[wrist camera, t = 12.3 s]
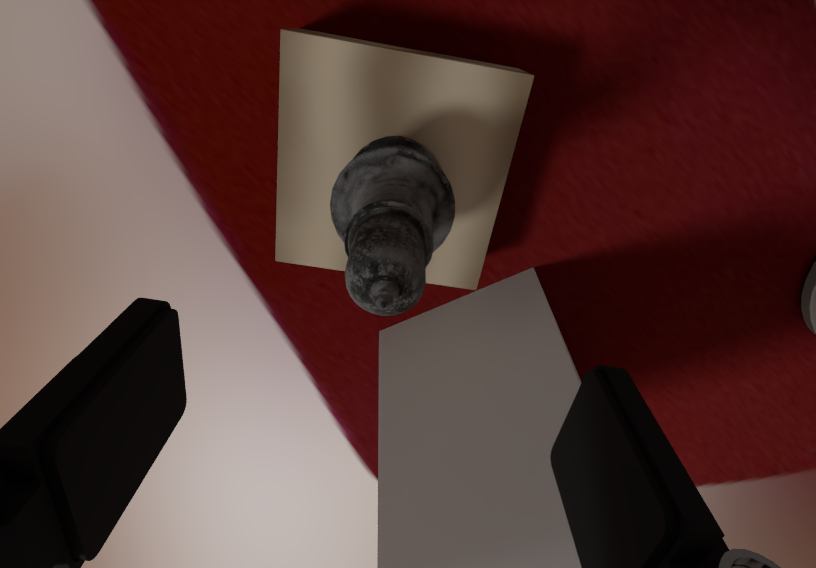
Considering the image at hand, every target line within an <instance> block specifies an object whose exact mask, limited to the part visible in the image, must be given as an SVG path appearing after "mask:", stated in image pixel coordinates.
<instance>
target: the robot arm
mask: <svg viewBox="0 0 816 568" xmlns="http://www.w3.org/2000/svg"><path fill="white" fill-rule="evenodd" d="M801 310H802V314H803V318H804V321H805V322H806V324H807V326H808V327H809V329H810V330H811V331H812V332H813V333H814V334H815V335H816V261H815V262H814V264H813V266H812V268H811V270H810V272H809V274H808V276H807V278H806V280H805V284H804V287H803V291H802V297H801ZM185 407H186V389H185V379H184V369H183V359H182V348H181V338H180V328H179V319H178V312H177V311H176V310H175V309H171V307H170V304H169V303H168V302H166V301H160V300H153V299H147V298H138V299H136V300H135V301H134V302H133V303H132V304H131V305H130V306H129V307H128V308H127V309H126V310H125V311H123V312H122V313H121V314H120V315H119V316H118V317H117V318H116V319H115V320H114V321H113V322H112V323H111V324H110V325H109V326H108V327H107V328H106V329H105V330H104V331H103V332H102V333H101V334H100V335H99V336H98V337H97V338H95V339H94V340H93V341H92V342H91V343H90V344H89V345H88V346H87V347H86V348H85V349H84V350H83V351H82V352H81V353H80V354H79V355H78V356H76V357H75V358H74V359H72V361H71V362H69V363H68V364H67V365H66V366H65V367H64V368H63V369H62V370H61V371H60V372H59V373H58V374H57V375H56V376H55V377H54V378H53V379H52V380H51V381H50V382H49V383H48V384H47V385H46V386H44V387H43V388H42V389H41V390H40V391H39V392H38V393H37V394H36V395H35V396H34V397H33V398H32V399H31V400H30V401H29V402H28V403H27V404H26V405H25V406H24V407H23V408H22V409H21V410H20V411H19V412H17V413H16V414H15V415H14V416H13V417H12V418H11V419H10V420H9V421H8V422H7V423H6V424H5V425H4V426H3V427H2V428H1V429H0V568H81V566H82V564H83V563H84V561H85V560H87V561H90V560H92V559H94V558H95V557H96V556H97V554H98V553H99V551H100V550H101V548H102V546H103V545H104V543H105V542H106V540H107V538H108V537H109V535H110V533H111V532H112V530H113V528H114V527H115V525H116V524H117V522H118V520H119V518H120V517H121V515H122V514H123V512H124V510H125V509H126V507H127V506H128V504H129V502H130V501H131V499H132V497H133V496H134V494H135V492H136V491H137V489H138V487H139V486H140V484H141V483H142V481H143V479H144V478H145V476H146V474H147V472H148V471H149V469H150V467H151V466H152V464H153V463H154V461H155V459H156V458H157V456H158V455H159V453H160V451H161V450H162V448H163V446H164V445H165V443H166V442H167V440H168V438H169V437H170V435H171V433H172V432H173V430H174V428H175V427H176V425H177V423H178V422H179V420H180V419H181V417H182V415H183V413H184V410H185ZM550 460H551V466H552V469H553V473H554V476H555V480H556V483H557V486H558V490H559V493H560V496H561V500H562V503H563V507H564V510H565V513H566V517H567V520H568V523H569V527H570V530H571V534H572V537H573V540H574V544H575V547H576V551H577V554H578V557H579V561H580V564H581V567H582V568H781V567H779V566H778V565H777V564H775V563H774V562H773V561H771V560H769V559H767V558H765V557H764V556H762V555H760V554H758V553H755V552H752V551H749V550H745V549H732V550H729V549H728V547H727V545H726V544H725V542H724V540H723V539H722V538H723V537H724V534H723V532H722V531H721V529H720V527H719V525H718V524H717V522H716V520H715V519H714V517H713V515H712V513H711V512H710V510H709V508H708V507H707V505H706V503H705V502H704V500H703V498H702V497H701V495H700V493H699V492H698V490H697V488H696V487H695V485H694V483H693V481H692V480H691V478H690V476H689V475H688V473H687V471H686V470H685V468H684V466H683V465H682V463H681V461H680V460H679V458H678V456H677V455H676V453H675V451H674V449H673V448H672V446H671V444H670V443H669V441H668V439H667V438H666V436H665V434H664V433H663V431H662V429H661V428H660V426H659V424H658V423H657V421H656V419H655V418H654V416H653V414H652V412H651V411H650V409H649V407H648V406H647V404H646V402H645V401H644V399H643V397H642V396H641V394H640V392H639V391H638V389H637V387H636V386H635V384H634V382H633V380H632V379H631V377H630V375H629V374H628V372H627V371H626V370H625V369H623V368H617V367H610V366H603V365H598V366H596V367H595V368H594V370H589V371H587V373H586V374H585V376H584V379H583V381H582V383H581V385H580V387H579V390H578V392H577V394H576V396H575V398H574V401H573V403H572V405H571V407H570V409H569V412H568V414H567V416H566V418H565V420H564V423H563V425H562V427H561V429H560V431H559V434H558V436H557V438H556V440H555V442H554V445H553V447H552V450H551V456H550Z"/></svg>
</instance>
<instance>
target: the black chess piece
mask: <svg viewBox="0 0 816 568" xmlns="http://www.w3.org/2000/svg"><path fill="white" fill-rule="evenodd" d="M330 210H331V218H332V222H333V224H334V226H335V229H336V231H337V234H338V235H339V237H340V238H341V239H342V241H343V242H344V246H345V252H346V254H347V257H348V260H347V264H346V269H345V281H346V287H347V290H348V292H349V294H350V296H351V298H352V299H353V300H354V301H355V303H356V304H357V305H359V306H360V307H361V308H363V309H364V310H366V311H368V312H371V313H373V314H377V315H382V316H392V315H397V314H401V313H403V312H405V311H407V310H409V309H411V308H412V307H413V306H414V305H415V304H416V303H417V302H418V300H419V299H420V297H421V295H422V293H423V291H424V287H425V283H426V272H425V269H426V267H427V265H428V264H429V262H430V260H431V258H432V254H433V252H434V251H435V250H436V249H437V248H439V247H440V246H441V245H442V244H443V242H444V241H445V239H446V237H447V236H448V234H449V233H450V231H451V228H452V224H453V221H454V218H455V198H454V194H453V190H452V187H451V184H450V182H449V180H448V179H447V177H446V175H445V174H444V172H443V170H442V169H441V166H440V164H439V162H438V161H437V159H436V157H435V156H434V154H432V153H431V152H430V151H429V150H428V149H427V148H426V147H425V146H424V145H422V144H420V143H418V142H417V141H415V140H413V139H409V138H405V137H400V136H393V137H384V138H380V139H377V140H374V141H372V142H370V143H369V144H367V145H366V146H364V147H363V148H362V149H361V150H360V151H359V152H358V153H357V154H356V156H355V157H354V158H353V160H351V161H350V162H349V163H348V164H347V165H346V166H345V168H344V169H343V170H342V171H341V172H340V173H339V175H338V177H337V180H336V182H335V184H334V186H333V188H332V194H331V200H330Z"/></svg>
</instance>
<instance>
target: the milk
mask: <svg viewBox="0 0 816 568" xmlns="http://www.w3.org/2000/svg"><path fill="white" fill-rule="evenodd" d="M581 383H582V382H581V380H580V377H579V375H578V373H577V370H576V368H575V365H574V363H573V361H572V358H571V356H570V353H569V351H568V349H567V346H566V344H565V342H564V339H563V337H562V334H561V332H560V330H559V327H558V325H557V322H556V320H555V318H554V315H553V313H552V311H551V308H550V306H549V303H548V301H547V299H546V296H545V294H544V291H543V289H542V287H541V284H540V282H539V279H538V277H537V275H536V272H535V270H534V268H530V269H528V270H526V271H523V272H521V273H518V274H516V275H514V276H511V277H509V278H506V279H504V280H502V281H499V282H497V283H494V284H492V285H490V286H487V287H485V288H482V289H480V290H478V291H475V292H473V293H470V294H468V295H466V296H463V297H461V298H458V299H456V300H454V301H451V302H449V303H446V304H444V305H442V306H439V307H437V308H434V309H432V310H430V311H427V312H425V313H422V314H420V315H418V316H415V317H413V318H410V319H408V320H405V321H403V322H401V323H398V324H396V325H393V326H391V327H389V328H386V329H384V330H381V331H379V440H378V568H582V567H581V564H580V561H579V557H578V554H577V551H576V547H575V544H574V540H573V537H572V534H571V530H570V527H569V523H568V520H567V517H566V513H565V510H564V507H563V503H562V500H561V496H560V493H559V490H558V486H557V483H556V480H555V476H554V473H553V469H552V466H551V460H550V456H551V450H552V447H553V445H554V442H555V440H556V438H557V436H558V434H559V431H560V429H561V427H562V425H563V423H564V420H565V418H566V416H567V414H568V412H569V409H570V407H571V405H572V403H573V401H574V398H575V396H576V394H577V392H578V390H579V387H580V385H581Z"/></svg>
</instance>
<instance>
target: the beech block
mask: <svg viewBox="0 0 816 568" xmlns="http://www.w3.org/2000/svg"><path fill="white" fill-rule="evenodd" d="M533 79H534V75H532V74H530V73H528V72H525V71H523V70H521V69H518V68H514V67H508V66H503V65H497V64H492V63H486V62H481V61H476V60H470V59H465V58H459V57H454V56H448V55H443V54H437V53H432V52H426V51H421V50H415V49H410V48H404V47H399V46H393V45H388V44H382V43H377V42H371V41H366V40H360V39H355V38H349V37H344V36H338V35H333V34H327V33H322V32H316V31H311V30H305V29H300V28H297V29H281V39H280V83H279V126H278V170H277V214H276V258H275V261H279V262H286V263H293V264H300V265H307V266H314V267H320V268H327V269H334V270H341V271H345V269H346V264H347V260H348V257H347V254H346V252H345V246H344V242H343V241H342V239H341V238H340V237H339V235H338V234H337V231H336V229H335V226H334V224H333V222H332V218H331V210H330V200H331V194H332V188H333V186H334V184H335V182H336V180H337V177H338V175H339V173H340V172H341V171H342V170H343V169H344V168H345V166H346V165H347V164H348V163H349V162H350V161H351V160H353V158H354V157H355V156H356V154H357V153H358V152H359V151H360V150H361V149H362V148H363V147H364V146H366V145H367V144H369V143H370V142H372V141H374V140H377V139H380V138H384V137H393V136H400V137H405V138H409V139H413V140H415V141H417V142H418V143H420V144H422V145H424V146H425V147H426V148H427V149H428V150H429V151H430V152H431V153H432V154H434V156H435V157H436V159H437V161H438V162H439V164H440V166H441V169H442V170H443V172H444V174H445V175H446V177H447V179H448V180H449V182H450V184H451V187H452V190H453V194H454V198H455V218H454V221H453V224H452V228H451V231H450V233H449V234H448V236H447V237H446V239H445V241H444V242H443V244H442V245H441V246H440V247H439V248H437V249H436V250H435V251H434V252H433V254H432V258H431V260H430V262H429V264H428V265H427V267H426V269H425V272H426V283H430V284H437V285H444V286H451V287H458V288H465V289H472V290H476V288H477V285H478V281H479V277H480V274H481V270H482V266H483V263H484V259H485V255H486V252H487V248H488V244H489V241H490V237H491V233H492V230H493V226H494V222H495V219H496V215H497V211H498V208H499V204H500V200H501V197H502V193H503V189H504V186H505V182H506V178H507V175H508V171H509V167H510V164H511V160H512V156H513V153H514V149H515V145H516V142H517V138H518V134H519V131H520V127H521V123H522V120H523V116H524V112H525V108H526V105H527V101H528V97H529V94H530V90H531V86H532V83H533Z"/></svg>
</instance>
